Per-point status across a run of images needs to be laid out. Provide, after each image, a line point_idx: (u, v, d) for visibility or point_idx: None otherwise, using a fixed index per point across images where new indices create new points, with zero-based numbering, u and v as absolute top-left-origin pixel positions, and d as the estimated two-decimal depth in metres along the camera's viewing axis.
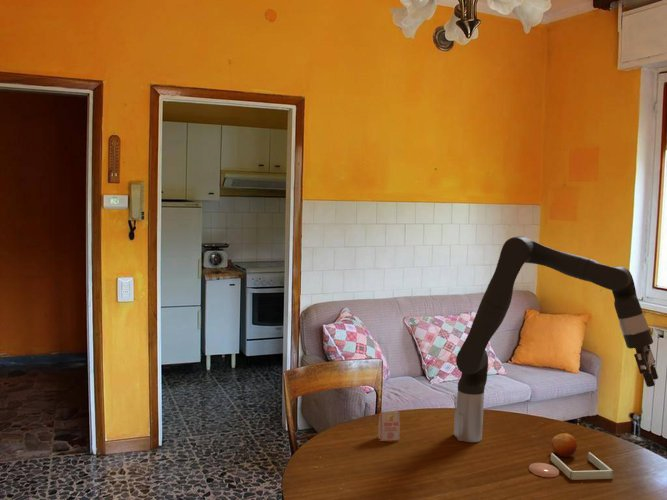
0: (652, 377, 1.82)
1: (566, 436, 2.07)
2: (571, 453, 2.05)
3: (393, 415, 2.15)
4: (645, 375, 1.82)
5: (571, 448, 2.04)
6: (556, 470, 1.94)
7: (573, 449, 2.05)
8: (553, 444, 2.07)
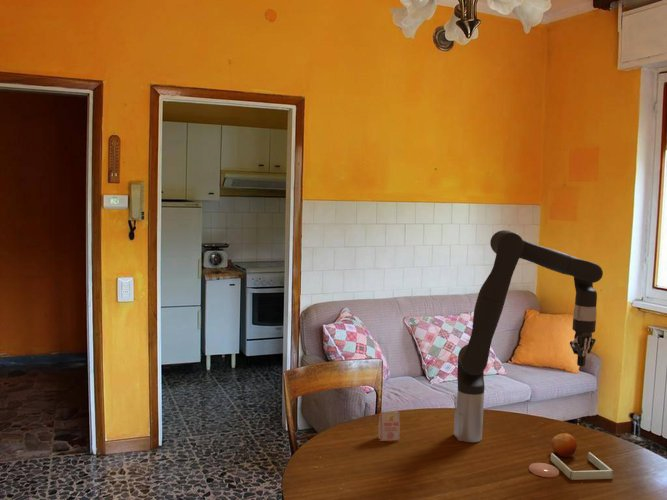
0: (583, 360, 2.18)
1: (566, 436, 2.07)
2: (571, 453, 2.05)
3: (393, 415, 2.15)
4: (578, 356, 2.19)
5: (571, 448, 2.04)
6: (556, 470, 1.94)
7: (573, 449, 2.05)
8: (553, 444, 2.07)
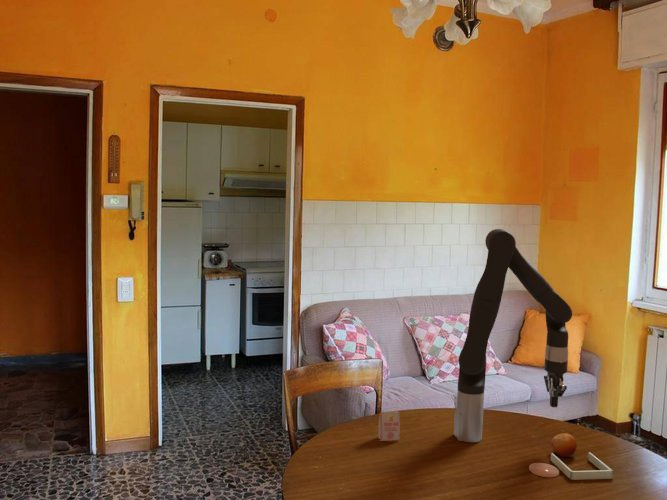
0: None
1: (566, 436, 2.07)
2: (571, 453, 2.05)
3: (393, 415, 2.15)
4: (555, 398, 2.14)
5: (571, 448, 2.04)
6: (556, 470, 1.94)
7: (573, 449, 2.05)
8: (553, 444, 2.07)
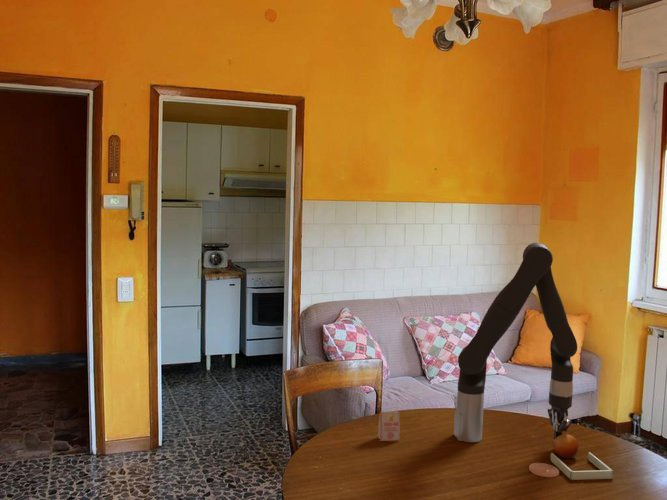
0: None
1: (568, 437, 2.05)
2: (572, 454, 2.04)
3: (393, 415, 2.15)
4: (559, 432, 2.11)
5: (573, 449, 2.03)
6: (556, 470, 1.94)
7: (575, 450, 2.04)
8: (554, 445, 2.06)
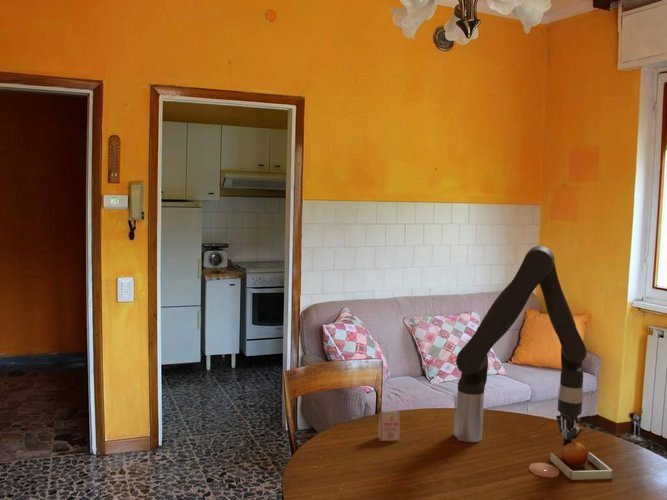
0: (570, 441, 2.06)
1: (577, 445, 1.99)
2: (582, 463, 1.97)
3: (393, 415, 2.15)
4: (568, 440, 2.05)
5: (582, 458, 1.97)
6: (556, 470, 1.94)
7: (584, 459, 1.97)
8: (563, 453, 2.00)
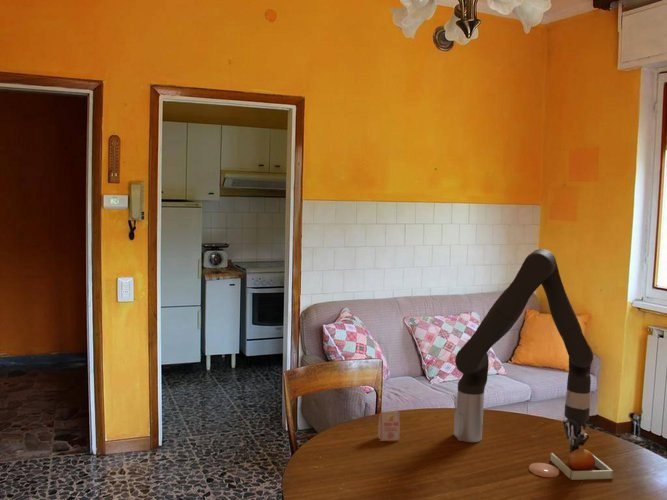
0: None
1: (584, 451, 1.94)
2: (588, 470, 1.92)
3: (393, 415, 2.15)
4: (575, 446, 2.00)
5: (588, 465, 1.92)
6: (556, 470, 1.94)
7: (591, 466, 1.92)
8: (569, 460, 1.95)
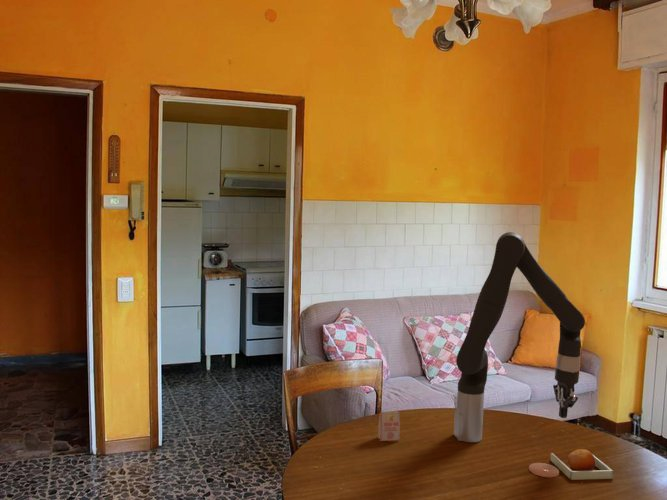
0: (566, 410, 2.08)
1: (584, 452, 1.94)
2: (588, 470, 1.92)
3: (393, 415, 2.15)
4: (564, 408, 2.07)
5: (588, 465, 1.92)
6: (556, 470, 1.94)
7: (591, 466, 1.92)
8: (569, 460, 1.95)
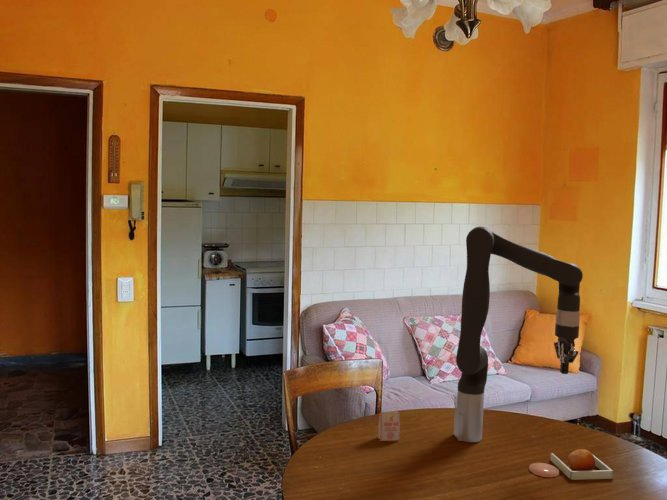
0: None
1: (584, 452, 1.94)
2: (588, 470, 1.92)
3: (393, 415, 2.15)
4: (565, 364, 2.07)
5: (588, 465, 1.92)
6: (556, 470, 1.94)
7: (591, 466, 1.92)
8: (569, 460, 1.95)
